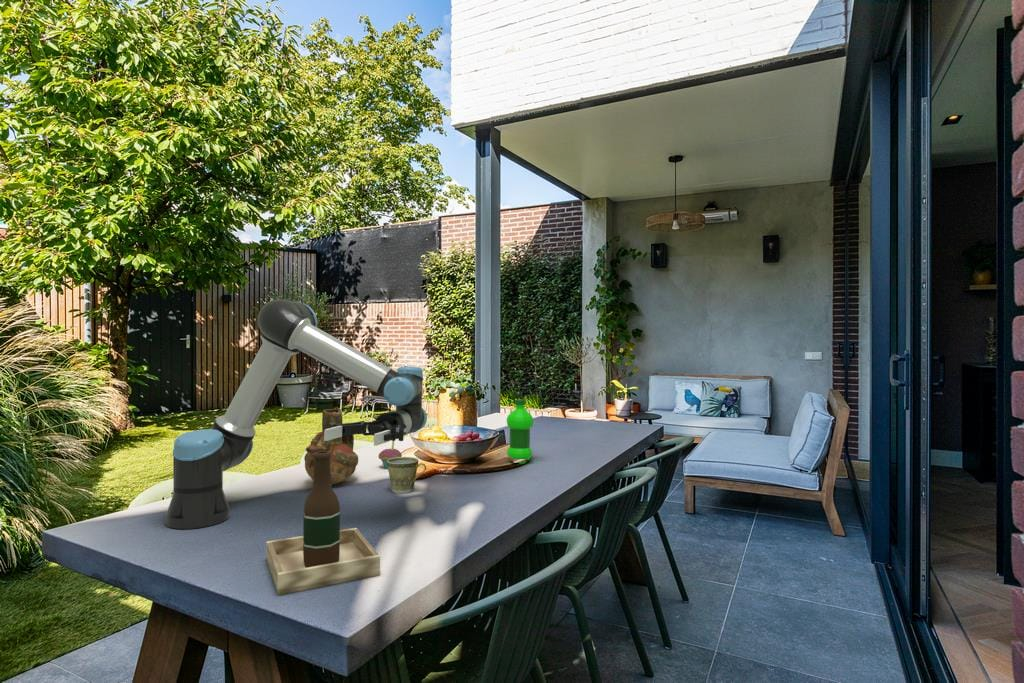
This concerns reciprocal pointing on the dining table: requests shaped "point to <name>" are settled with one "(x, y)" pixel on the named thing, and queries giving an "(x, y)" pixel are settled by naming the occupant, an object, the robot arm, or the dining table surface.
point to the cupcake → (389, 455)
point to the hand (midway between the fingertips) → (350, 437)
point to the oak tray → (295, 577)
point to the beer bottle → (321, 517)
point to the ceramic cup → (403, 473)
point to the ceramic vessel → (333, 449)
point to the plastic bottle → (520, 432)
